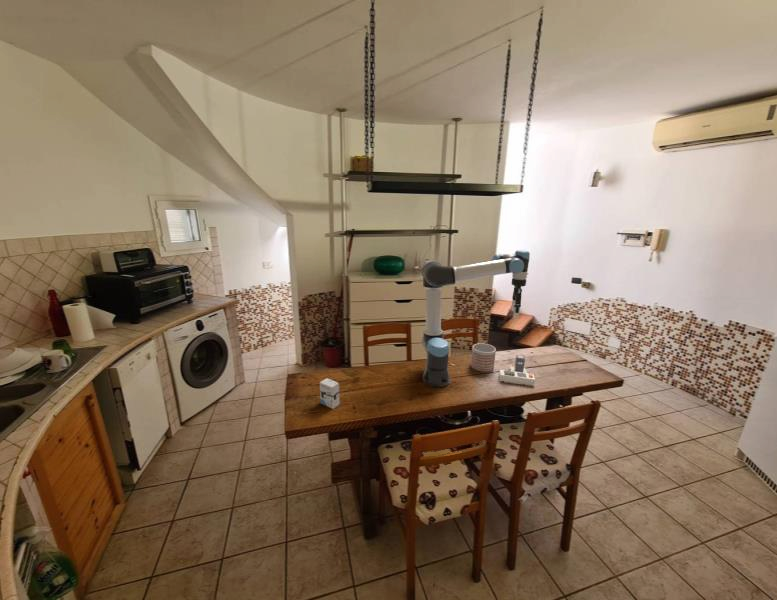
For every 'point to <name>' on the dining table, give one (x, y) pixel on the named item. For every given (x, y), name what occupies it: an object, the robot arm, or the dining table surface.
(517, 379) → the power strip
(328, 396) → the ink box
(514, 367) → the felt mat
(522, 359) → the charger
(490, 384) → the dining table surface
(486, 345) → the planter
